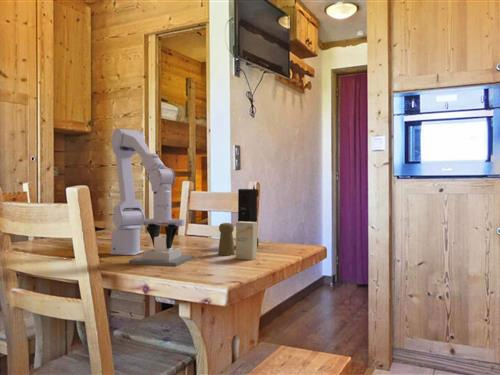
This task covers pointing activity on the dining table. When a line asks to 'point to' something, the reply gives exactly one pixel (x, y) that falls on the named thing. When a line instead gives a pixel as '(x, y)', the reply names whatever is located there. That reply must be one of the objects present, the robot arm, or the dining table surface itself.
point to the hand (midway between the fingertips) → (162, 247)
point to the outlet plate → (162, 258)
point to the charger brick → (161, 244)
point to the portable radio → (247, 205)
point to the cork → (226, 240)
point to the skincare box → (246, 240)
